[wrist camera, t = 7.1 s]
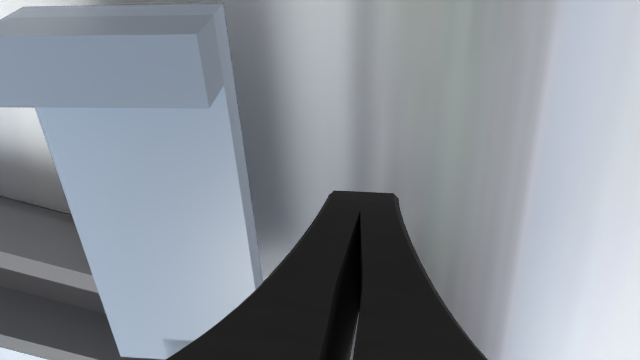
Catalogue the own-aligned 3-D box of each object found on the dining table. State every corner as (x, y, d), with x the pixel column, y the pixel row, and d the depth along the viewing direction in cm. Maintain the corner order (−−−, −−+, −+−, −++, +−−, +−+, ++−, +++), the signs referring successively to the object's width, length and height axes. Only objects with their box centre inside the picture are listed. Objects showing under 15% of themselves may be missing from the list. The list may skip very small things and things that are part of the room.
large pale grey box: (254, 263, 26) (238, 313, 24) (234, 351, 30) (218, 403, 27) (-104, 169, 26) (-158, 210, 23) (-83, 268, 29) (-129, 313, 27)
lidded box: (277, 385, 25) (265, 438, 23) (142, 376, 26) (119, 426, 24) (223, 3, 17) (196, 34, 15) (23, 6, 18) (-30, 36, 15)
